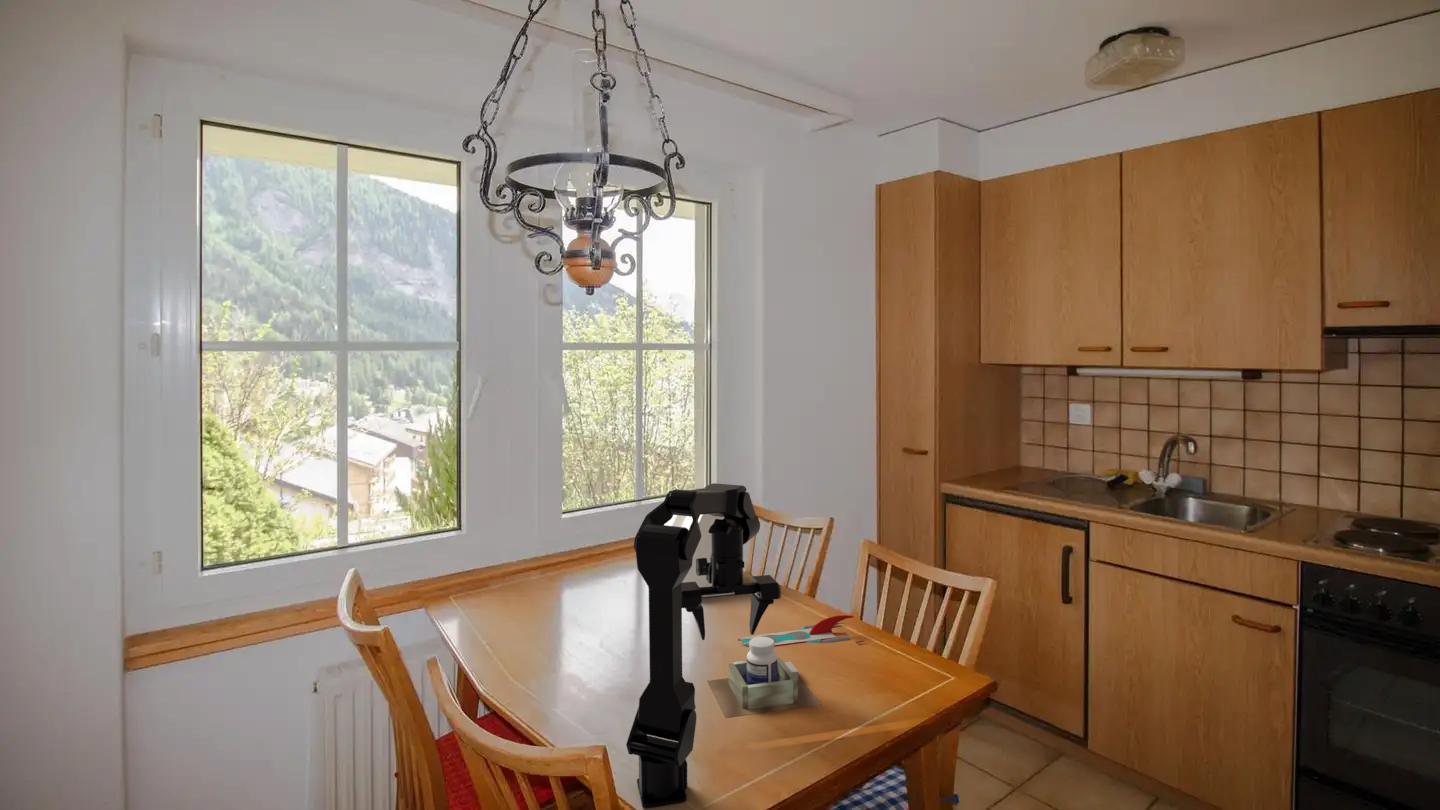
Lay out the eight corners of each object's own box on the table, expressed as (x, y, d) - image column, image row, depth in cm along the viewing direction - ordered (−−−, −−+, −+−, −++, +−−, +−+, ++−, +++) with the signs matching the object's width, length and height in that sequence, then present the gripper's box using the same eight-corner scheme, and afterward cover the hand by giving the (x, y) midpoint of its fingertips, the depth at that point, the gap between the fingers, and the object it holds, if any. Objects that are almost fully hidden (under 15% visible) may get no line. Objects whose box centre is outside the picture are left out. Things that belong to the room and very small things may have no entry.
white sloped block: (682, 604, 181) (681, 507, 178) (648, 588, 192) (647, 497, 190) (738, 587, 193) (738, 497, 191) (703, 573, 205) (702, 488, 203)
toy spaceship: (752, 673, 147) (750, 649, 147) (732, 650, 158) (730, 628, 157) (865, 644, 157) (864, 621, 156) (839, 624, 167) (838, 603, 167)
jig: (725, 723, 124) (725, 695, 123) (707, 685, 137) (706, 660, 137) (821, 709, 128) (821, 683, 128) (794, 674, 142) (794, 650, 141)
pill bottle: (765, 682, 137) (765, 632, 136) (783, 695, 132) (783, 643, 131) (740, 690, 134) (740, 639, 133) (758, 703, 129) (758, 650, 128)
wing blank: (783, 683, 136) (783, 673, 136) (776, 673, 140) (776, 663, 140) (798, 681, 137) (798, 671, 137) (790, 671, 141) (790, 661, 141)
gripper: (763, 537, 138) (762, 615, 139) (668, 544, 133) (669, 624, 135) (781, 554, 127) (781, 638, 128) (679, 562, 122) (680, 649, 124)
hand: (727, 636), depth 129 cm, fingers open, 9 cm apart
